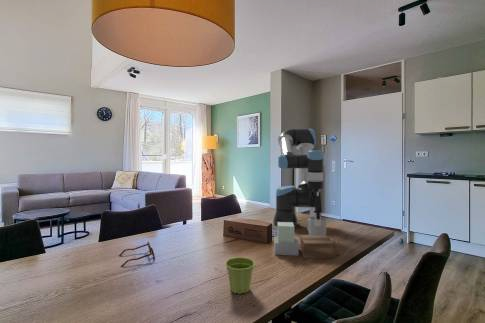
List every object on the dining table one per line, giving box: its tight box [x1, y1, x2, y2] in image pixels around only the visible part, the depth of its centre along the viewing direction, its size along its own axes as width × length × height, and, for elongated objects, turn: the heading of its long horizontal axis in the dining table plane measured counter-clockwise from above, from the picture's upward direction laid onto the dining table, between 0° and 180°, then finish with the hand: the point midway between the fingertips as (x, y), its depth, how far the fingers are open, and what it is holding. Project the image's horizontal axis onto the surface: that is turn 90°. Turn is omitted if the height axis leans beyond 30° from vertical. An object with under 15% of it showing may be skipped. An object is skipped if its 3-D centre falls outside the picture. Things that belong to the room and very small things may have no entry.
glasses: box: [118, 241, 156, 268], centre depth 109 cm, size 13×13×5 cm
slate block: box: [273, 235, 300, 256], centre depth 117 cm, size 10×10×5 cm
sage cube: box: [277, 222, 295, 243], centre depth 117 cm, size 7×7×7 cm
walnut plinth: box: [299, 234, 334, 259], centre depth 115 cm, size 12×12×6 cm
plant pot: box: [225, 257, 256, 295], centre depth 83 cm, size 9×9×9 cm
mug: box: [306, 216, 327, 235], centre depth 133 cm, size 12×8×11 cm
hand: (315, 222), depth 133 cm, fingers open, 13 cm apart
